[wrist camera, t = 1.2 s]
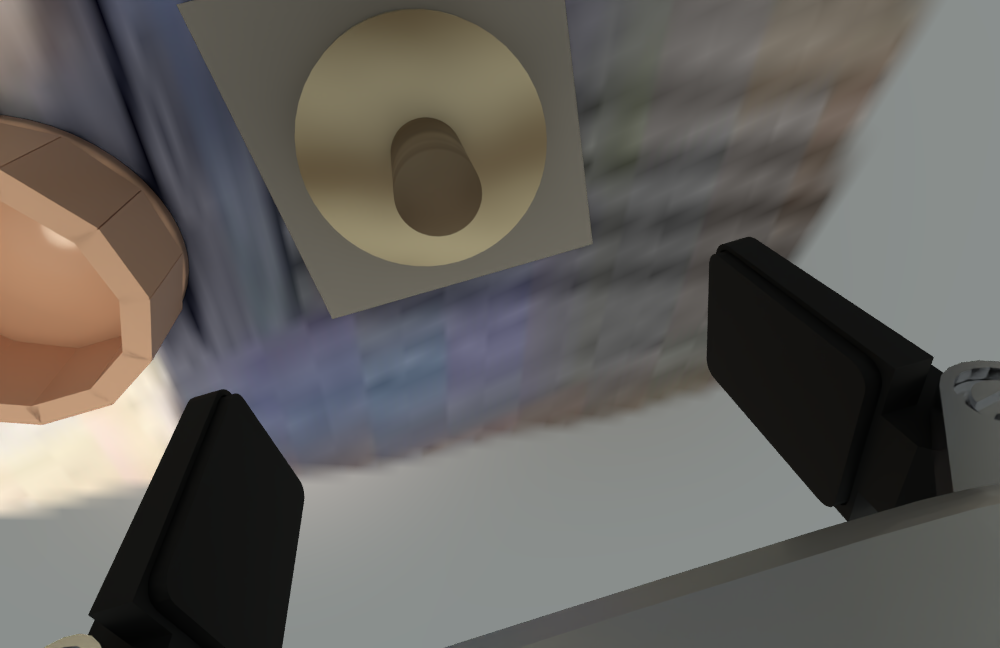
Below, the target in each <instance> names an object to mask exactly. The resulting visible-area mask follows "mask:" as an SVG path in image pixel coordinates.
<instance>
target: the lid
mask: <svg viewBox="0 0 1000 648" xmlns="http://www.w3.org/2000/svg"><path fill="white" fill-rule="evenodd" d="M295 147H296V157H297V161H298V165H299V169H300V173H301V176H302V179H303V181H304V184H305V186H306V189H307V191H308V193H309V195H310V197H311V198H312V200H313V202H314V204H315V205H316V207H317V208H318V210H319V211H320V213H321V214H322V215H323V217H324V218H325V219H326V220H327V221H328V222H329V224H330V225H331V226H332V227H333V228H334V229H335V230H336V231H337V232H338V233H340V234H341V235H342V236H343V237H344V238H345V239H346V240H348V241H349V242H351V243H352V244H354V245H355V246H357V247H358V248H360V249H362V250H364V251H366V252H367V253H369V254H371V255H373V256H376V257H379V258H381V259H384V260H387V261H390V262H394V263H398V264H403V265H411V266H438V265H446V264H450V263H455V262H459V261H462V260H465V259H468V258H470V257H473V256H475V255H477V254H479V253H481V252H483V251H485V250H487V249H488V248H490V247H491V246H493V245H494V244H496V243H497V242H498V241H500V240H501V239H502V238H503V237H504V236H506V235H507V234H508V233H509V232H510V231H511V230H512V229H513V228H514V227H515V226H516V224H517V223H518V222H519V221H520V219H521V218H522V217H523V215H524V214H525V213H526V211H527V210H528V208H529V206H530V204H531V203H532V201H533V199H534V197H535V195H536V192H537V190H538V187H539V185H540V182H541V178H542V175H543V171H544V166H545V159H546V148H547V135H546V124H545V118H544V114H543V109H542V105H541V102H540V99H539V97H538V94H537V91H536V89H535V87H534V85H533V83H532V81H531V79H530V77H529V75H528V73H527V72H526V70H525V69H524V68H523V66H522V65H521V63H520V62H519V60H518V59H517V58H516V57H515V56H514V55H513V54H512V52H511V51H510V50H509V49H508V48H507V47H506V46H505V45H504V44H503V43H501V42H500V41H499V40H498V39H497V38H495V37H494V36H493V35H492V34H490V33H489V32H487V31H485V30H484V29H482V28H481V27H479V26H477V25H476V24H473V23H471V22H469V21H467V20H464V19H462V18H460V17H457V16H455V15H451V14H448V13H444V12H441V11H435V10H427V9H401V10H395V11H390V12H385V13H382V14H379V15H376V16H373V17H370V18H368V19H366V20H364V21H362V22H360V23H358V24H357V25H355V26H353V27H351V28H350V29H349V30H347V31H346V32H345V33H343V34H342V35H341V36H339V37H338V38H337V39H336V40H335V41H334V42H333V43H332V44H331V45H330V46H329V47H328V49H327V50H326V51H325V52H324V53H323V55H322V56H321V58H320V59H319V60H318V62H317V63H316V65H315V66H314V67H313V69H312V71H311V73H310V75H309V77H308V79H307V81H306V83H305V85H304V87H303V90H302V93H301V96H300V99H299V102H298V108H297V114H296V119H295Z"/></svg>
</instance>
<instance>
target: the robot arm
mask: <svg viewBox="0 0 1000 648" xmlns="http://www.w3.org/2000/svg"><path fill="white" fill-rule="evenodd" d="M932 360H933V356H931V355H930V354H928V353H926V352H925V351H924V350H922V349H920V348H919V347H918V346H916V345H915V344H913V343H912V342H910V341H909V340H907V339H905V338H904V337H903V336H901V335H900V334H898V333H897V332H895V331H894V330H892V329H891V328H889V327H887V326H886V325H884V324H883V323H881V322H880V321H878V320H877V319H875V318H874V317H872V316H871V315H869V314H868V313H866V312H865V311H863V310H862V309H860V308H859V307H857V306H856V305H854V304H853V303H851V302H850V301H848V300H847V299H845V298H844V297H842V296H841V295H839V294H838V293H836V292H835V291H833V290H832V289H830V288H829V287H827V286H826V285H824V284H822V283H821V282H820V281H818V280H817V279H815V278H814V277H812V276H811V275H809V274H808V273H806V272H805V271H803V270H802V269H800V268H799V267H797V266H796V265H794V264H793V263H791V262H790V261H788V260H787V259H785V258H783V257H782V256H780V255H779V254H777V253H776V252H774V251H773V250H771V249H770V248H768V247H767V246H765V245H764V244H762V243H761V242H759V241H758V240H756V239H755V238H752V237H746V238H742V239H739V240H735V241H732V242H729V243H725V244H722V245H720V246H719V247H718V249H717V252H716V254H714V255H712V256H711V258H710V262H709V294H708V331H707V364H708V368H709V370H710V372H711V374H712V376H713V377H714V378H715V380H716V381H717V382H718V383H719V384H720V385H721V387H722V388H723V389H724V390H725V391H726V392H727V393H728V395H729V396H730V397H731V398H732V399H733V400H734V402H735V403H736V404H737V405H738V406H739V407H740V409H741V410H742V411H743V412H744V413H745V414H746V416H747V417H748V418H749V419H750V420H751V421H752V423H753V424H754V425H755V426H756V427H757V428H758V430H759V431H760V432H761V433H762V434H763V435H764V436H765V438H766V439H767V440H768V441H769V442H770V444H772V446H773V447H774V448H775V449H776V450H777V452H778V453H779V454H780V455H781V456H782V457H783V459H784V460H785V461H786V462H787V463H788V464H789V465H790V467H791V468H792V469H793V470H794V471H795V473H796V474H797V475H798V476H799V477H800V478H801V480H802V481H803V482H804V483H805V484H806V485H807V487H809V489H810V490H811V491H812V492H813V494H814V495H815V496H816V497H817V498H818V499H819V500H820V501H821V502H822V503H823V504H824V505H826V506H828V507H832V506H834V507H835V508H836V509H837V510H838V511H839V512H840V513H841V515H842V516H843V517H844V518H845V519H846V520H847V522H844V523H841V524H837V525H834V526H831V527H827V528H824V529H821V530H817V531H814V532H811V533H807V534H804V535H801V536H798V537H795V538H791V539H788V540H785V541H782V542H778V543H775V544H772V545H769V546H766V547H763V548H759V549H756V550H753V551H750V552H746V553H743V554H740V555H737V556H734V557H730V558H727V559H724V560H721V561H718V562H714V563H711V564H708V565H704V566H701V567H698V568H695V569H692V570H688V571H685V572H682V573H679V574H676V575H672V576H669V577H666V578H663V579H660V580H656V581H654V582H650V583H647V584H644V585H641V586H637V587H634V588H631V589H628V590H625V591H621V592H618V593H615V594H612V595H609V596H606V597H603V598H599V599H596V600H593V601H590V602H587V603H584V604H580V605H577V606H574V607H571V608H568V609H564V610H561V611H558V612H555V613H552V614H549V615H546V616H542V617H539V618H536V619H533V620H530V621H527V622H524V623H520V624H517V625H514V626H511V627H508V628H505V629H502V630H498V631H495V632H492V633H489V634H486V635H483V636H479V637H476V638H473V639H470V640H467V641H464V642H461V643H457V644H454V645H452V646H448V647H445V648H1000V362H999V361H980V360H978V361H970V362H962V363H959V364H957V365H954V366H952V367H949V368H948V369H947V370H946V371H945V372H944V373H943V372H941V371H940V370H938V369H937V368H935V367H934V366H933V365H931V364H932ZM303 504H304V491H303V487H302V484H301V482H300V480H299V479H298V477H297V476H296V474H295V473H294V471H293V470H292V468H291V467H290V466H289V464H288V463H287V461H286V460H285V458H284V457H283V455H282V454H281V452H280V451H279V450H278V448H277V447H276V445H275V444H274V442H273V441H272V439H271V438H270V436H269V435H268V434H267V432H266V431H265V429H264V428H263V426H262V425H261V423H260V422H259V421H258V419H257V418H256V416H255V415H254V413H253V412H252V410H251V409H250V407H249V406H248V405H247V403H246V402H245V400H244V399H243V398H242V396H241V395H239V394H231V393H230V392H229V391H227V390H223V389H222V390H218V391H215V392H211V393H208V394H204V395H201V396H198V397H194V398H192V399H190V401H189V402H188V403H187V405H186V408H185V410H184V412H183V414H182V416H181V418H180V420H179V423H178V425H177V427H176V429H175V431H174V433H173V435H172V437H171V440H170V442H169V444H168V446H167V448H166V450H165V452H164V455H163V457H162V459H161V461H160V463H159V465H158V467H157V469H156V472H155V474H154V476H153V478H152V480H151V482H150V484H149V487H148V489H147V491H146V493H145V495H144V497H143V499H142V501H141V504H140V506H139V508H138V510H137V512H136V514H135V516H134V519H133V521H132V523H131V525H130V527H129V529H128V531H127V533H126V536H125V538H124V540H123V542H122V544H121V547H120V548H119V551H118V553H117V555H116V557H115V559H114V561H113V564H112V566H111V568H110V570H109V572H108V574H107V576H106V578H105V580H104V583H103V585H102V587H101V589H100V591H99V593H98V595H97V598H96V600H95V602H94V604H93V606H92V608H91V610H90V613H89V616H90V617H92V618H93V619H94V620H95V621H94V623H93V625H92V627H91V629H90V632H89V634H88V635H84V634H77V635H72V636H68V637H64V638H62V639H60V640H58V641H56V642H54V643H52V644H50V645H48V646H46V647H44V648H282V644H283V637H284V631H285V624H286V617H287V610H288V604H289V598H290V591H291V584H292V578H293V571H294V564H295V558H296V551H297V545H298V538H299V531H300V525H301V518H302V511H303Z"/></svg>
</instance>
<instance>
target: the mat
mask: <svg viewBox="0 0 1000 648" xmlns="http://www.w3.org/2000/svg"><path fill="white" fill-rule="evenodd" d="M177 7H178V9H179V11H180V13H181V15H182V17H183V19H184V21H185V23H186V25H187V27H188V29H189V31H190V33H191V35H192V37H193V39H194V41H195V43H196V45H197V47H198V49H199V51H200V53H201V55H202V57H203V59H204V61H205V63H206V65H207V67H208V69H209V71H210V73H211V75H212V77H213V79H214V81H215V83H216V85H217V87H218V89H219V91H220V93H221V95H222V97H223V99H224V101H225V103H226V105H227V107H228V109H229V111H230V113H231V115H232V117H233V119H234V122H235V124H236V126H237V128H238V130H239V132H240V134H241V136H242V138H243V140H244V142H245V144H246V146H247V148H248V150H249V152H250V154H251V156H252V158H253V160H254V162H255V164H256V166H257V168H258V170H259V172H260V174H261V176H262V178H263V180H264V182H265V184H266V186H267V188H268V190H269V192H270V194H271V196H272V198H273V200H274V202H275V204H276V206H277V208H278V210H279V212H280V214H281V216H282V218H283V220H284V222H285V224H286V226H287V228H288V230H289V232H290V234H291V236H292V238H293V240H294V242H295V244H296V246H297V248H298V250H299V252H300V254H301V256H302V258H303V261H304V263H305V265H306V267H307V269H308V271H309V273H310V275H311V277H312V279H313V281H314V283H315V285H316V287H317V289H318V291H319V293H320V295H321V297H322V299H323V301H324V303H325V305H326V307H327V309H328V311H329V313H330V315H331V317H332V319H334V318H338V317H341V316H345V315H348V314H352V313H355V312H359V311H362V310H366V309H369V308H373V307H376V306H379V305H383V304H386V303H390V302H393V301H397V300H400V299H404V298H407V297H411V296H414V295H418V294H421V293H425V292H428V291H431V290H435V289H438V288H442V287H445V286H449V285H452V284H456V283H459V282H463V281H466V280H470V279H473V278H477V277H480V276H484V275H487V274H490V273H494V272H497V271H501V270H504V269H508V268H511V267H515V266H518V265H522V264H525V263H529V262H532V261H536V260H539V259H542V258H546V257H549V256H553V255H556V254H560V253H563V252H567V251H570V250H574V249H577V248H581V247H584V246H588V245H591V244H593V243H592V234H591V225H590V217H589V208H588V199H587V190H586V182H585V173H584V164H583V155H582V147H581V138H580V129H579V120H578V112H577V103H576V94H575V85H574V77H573V68H572V59H571V50H570V42H569V33H568V24H567V15H566V7H565V0H193V1H189V2H185V3H181V4H177ZM401 9H427V10H435V11H441V12H444V13H448V14H451V15H455V16H457V17H460V18H462V19H464V20H467V21H469V22H471V23H473V24H476V25H477V26H479V27H481V28H482V29H484V30H485V31H487V32H489V33H490V34H492V35H493V36H494V37H495V38H497V39H498V40H499V41H500V42H501V43H503V44H504V45H505V46H506V47H507V48H508V49H509V50H510V51H511V52H512V54H513V55H514V56H515V57H516V58H517V59H518V60H519V62H520V63H521V65H522V66H523V68H524V69H525V70H526V72H527V73H528V75H529V77H530V79H531V81H532V83H533V85H534V87H535V89H536V91H537V94H538V97H539V99H540V102H541V105H542V109H543V114H544V118H545V124H546V135H547V148H546V159H545V166H544V171H543V175H542V178H541V182H540V185H539V187H538V190H537V192H536V195H535V197H534V199H533V201H532V203H531V204H530V206H529V208H528V210H527V211H526V213H525V214H524V215H523V217H522V218H521V219H520V221H519V222H518V223H517V224H516V226H515V227H514V228H513V229H512V230H511V231H510V232H509V233H508V234H507V235H506V236H504V237H503V238H502V239H501V240H500V241H498V242H497V243H496V244H494V245H493V246H491V247H490V248H488V249H487V250H485V251H483V252H481V253H479V254H477V255H475V256H473V257H470V258H468V259H465V260H462V261H459V262H455V263H450V264H446V265H438V266H411V265H403V264H398V263H394V262H390V261H387V260H384V259H381V258H379V257H376V256H373V255H371V254H369V253H367V252H366V251H364V250H362V249H360V248H358V247H357V246H355V245H354V244H352V243H351V242H349V241H348V240H346V239H345V238H344V237H343V236H342V235H341V234H340V233H338V232H337V231H336V230H335V229H334V228H333V227H332V226H331V225H330V224H329V222H328V221H327V220H326V219H325V218H324V217H323V215H322V214H321V213H320V211H319V210H318V208H317V207H316V205H315V204H314V202H313V200H312V198H311V197H310V195H309V193H308V191H307V189H306V186H305V184H304V181H303V179H302V176H301V173H300V169H299V165H298V161H297V157H296V147H295V119H296V114H297V108H298V102H299V99H300V96H301V93H302V90H303V87H304V85H305V83H306V81H307V79H308V77H309V75H310V73H311V71H312V69H313V67H314V66H315V65H316V63H317V62H318V60H319V59H320V58H321V56H322V55H323V53H324V52H325V51H326V50H327V49H328V47H329V46H330V45H331V44H332V43H333V42H334V41H335V40H336V39H337V38H338V37H339V36H341V35H342V34H343V33H345V32H346V31H347V30H349V29H350V28H351V27H353V26H355V25H357V24H358V23H360V22H362V21H364V20H366V19H368V18H370V17H373V16H376V15H379V14H382V13H385V12H390V11H395V10H401Z"/></svg>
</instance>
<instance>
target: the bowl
mask: <svg viewBox="0 0 1000 648" xmlns="http://www.w3.org/2000/svg"><path fill="white" fill-rule="evenodd" d="M188 278H189V263H188V255H187V251H186V247H185V243H184V240H183V238H182V235H181V232H180V230H179V228H178V226H177V224H176V222H175V220H174V219H173V217H172V215H171V213H170V212H169V211H168V209H167V208H166V206H165V205H164V204H163V202H162V201H161V199H160V198H159V197H158V196H157V195H156V194H155V193H154V191H153V190H152V189H151V188H150V187H149V186H148V185H147V184H146V183H145V182H144V181H143V180H142V179H141V178H140V177H139V176H137V175H136V174H135V173H134V172H133V171H132V170H131V169H129V168H128V167H127V166H125V165H124V164H123V163H121V162H120V161H119V160H117V159H116V158H115V157H113V156H112V155H110V154H108V153H107V152H105V151H104V150H102V149H100V148H99V147H97V146H95V145H94V144H92V143H90V142H87V141H85V140H83V139H81V138H79V137H77V136H75V135H73V134H71V133H68V132H66V131H63V130H60V129H58V128H55V127H53V126H50V125H46V124H42V123H39V122H35V121H32V120H28V119H22V118H17V117H11V116H5V115H0V422H9V423H23V424H37V425H42V424H43V425H44V424H47V423H51V422H54V421H58V420H61V419H64V418H68V417H71V416H75V415H78V414H82V413H85V412H89V411H92V410H95V409H99V408H102V407H106V406H109V405H112V404H114V403H115V401H116V400H117V399H118V398H119V397H120V396H121V395H122V394H123V393H124V391H125V390H126V389H127V388H128V387H129V386H130V385H131V384H132V382H133V381H134V380H135V379H136V378H137V377H138V376H139V375H140V374H141V372H142V371H143V370H144V369H145V368H146V367H147V366H148V365H149V364H150V362H151V361H152V360H153V358H154V356H155V355H156V353H157V351H158V350H159V348H160V346H161V344H162V343H163V341H164V339H165V338H166V336H167V334H168V332H169V331H170V329H171V327H172V326H173V324H174V322H175V321H176V319H177V317H178V315H179V314H180V312H181V310H182V300H183V298H184V296H185V293H186V289H187V286H188Z"/></svg>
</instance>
